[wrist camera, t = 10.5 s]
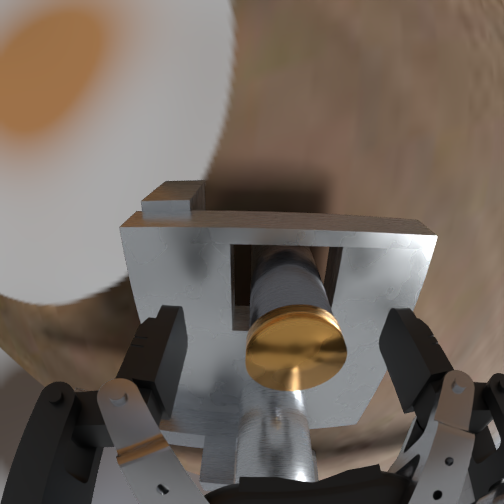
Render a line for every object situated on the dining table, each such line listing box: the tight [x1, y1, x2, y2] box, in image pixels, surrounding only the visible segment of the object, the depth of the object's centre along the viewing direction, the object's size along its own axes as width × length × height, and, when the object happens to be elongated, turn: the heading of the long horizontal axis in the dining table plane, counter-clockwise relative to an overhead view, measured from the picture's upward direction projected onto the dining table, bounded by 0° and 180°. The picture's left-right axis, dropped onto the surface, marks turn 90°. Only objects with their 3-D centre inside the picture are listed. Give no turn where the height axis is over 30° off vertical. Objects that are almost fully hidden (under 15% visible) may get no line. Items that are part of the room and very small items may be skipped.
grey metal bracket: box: [74, 180, 437, 491], centre depth 14 cm, size 22×16×14 cm
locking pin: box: [245, 245, 347, 391], centre depth 13 cm, size 3×3×10 cm
